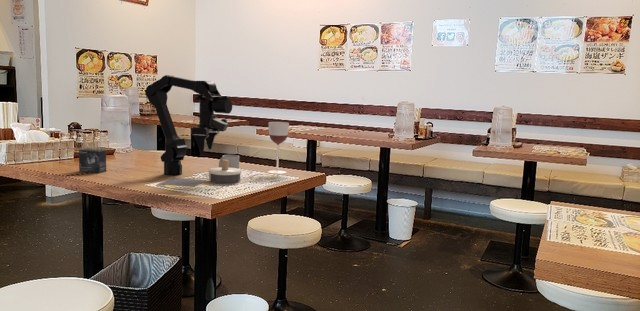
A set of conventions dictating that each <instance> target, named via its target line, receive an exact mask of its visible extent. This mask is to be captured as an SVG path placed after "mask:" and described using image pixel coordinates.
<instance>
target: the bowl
mask: <svg viewBox="0 0 640 311" xmlns="http://www.w3.org/2000/svg"><path fill="white" fill-rule="evenodd" d="M241 174H242V172H241V173H240V174H237V175H214V174H210V173H208V180H209V182H210V183H214V184H222V185H225V184H226V185H228V184H229V185H230V184H237V183H240V181H241Z"/></svg>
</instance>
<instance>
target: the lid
mask: <svg viewBox="0 0 640 311" xmlns="http://www.w3.org/2000/svg"><path fill="white" fill-rule="evenodd" d="M207 173H208V174H209V173H210V174H214V175H237V174H240V173H241V174H242V169H241V168H239V169H238V168H229V167H228V160H222V167H219V166H218V167H211V168H208V170H207ZM241 174H240V175H241Z"/></svg>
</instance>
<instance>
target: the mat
mask: <svg viewBox="0 0 640 311" xmlns="http://www.w3.org/2000/svg"><path fill="white" fill-rule="evenodd" d="M206 181H208V179H199V178H198V179H196V178H195V179H194V178H181V177H173V178H170V179H168V180H165V181H163V182H160V183H159V185H162V186H163V185H165V186H175V187H176V186H178V187H180V186H181V187H193V188H195V187H196V186H199V185H201V184H202V183H205V182H206Z"/></svg>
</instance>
